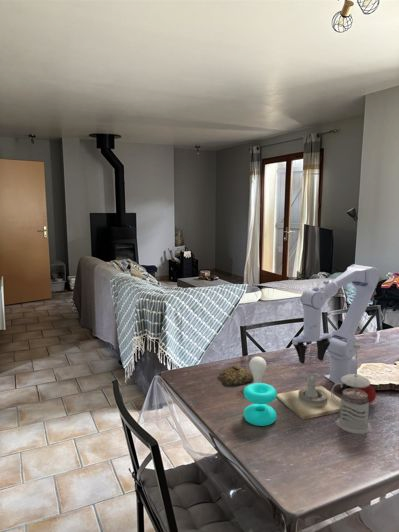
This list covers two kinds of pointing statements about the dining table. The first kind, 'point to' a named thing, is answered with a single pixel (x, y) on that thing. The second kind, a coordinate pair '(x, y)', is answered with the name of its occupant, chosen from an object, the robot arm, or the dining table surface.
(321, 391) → the ring board
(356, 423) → the french press
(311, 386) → the rook chess piece
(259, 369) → the lightbulb
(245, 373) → the bread roll
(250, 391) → the donuts
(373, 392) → the pomegranate
